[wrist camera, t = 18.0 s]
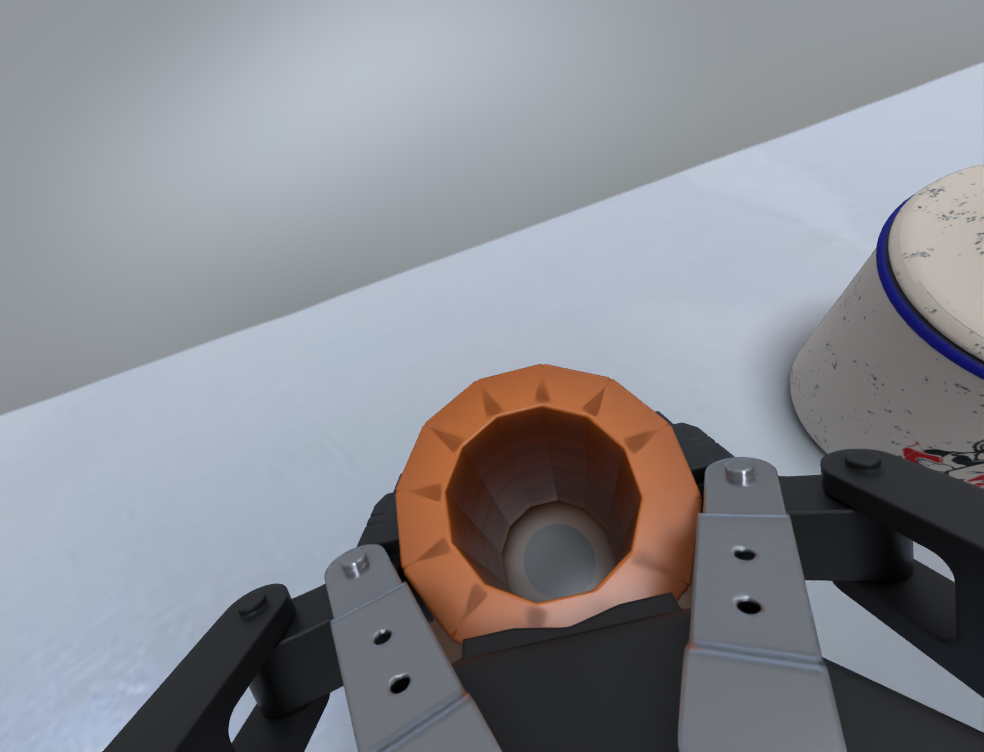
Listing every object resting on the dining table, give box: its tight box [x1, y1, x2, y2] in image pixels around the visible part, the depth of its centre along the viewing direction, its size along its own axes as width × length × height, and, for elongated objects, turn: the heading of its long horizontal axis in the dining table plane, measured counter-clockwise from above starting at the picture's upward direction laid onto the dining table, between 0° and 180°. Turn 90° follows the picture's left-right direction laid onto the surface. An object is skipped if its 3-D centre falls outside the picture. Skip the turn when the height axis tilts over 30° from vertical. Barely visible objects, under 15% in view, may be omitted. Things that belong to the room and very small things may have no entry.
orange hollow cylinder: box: [395, 364, 703, 646], centre depth 13 cm, size 6×6×8 cm
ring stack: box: [429, 500, 694, 664], centre depth 18 cm, size 13×13×3 cm
